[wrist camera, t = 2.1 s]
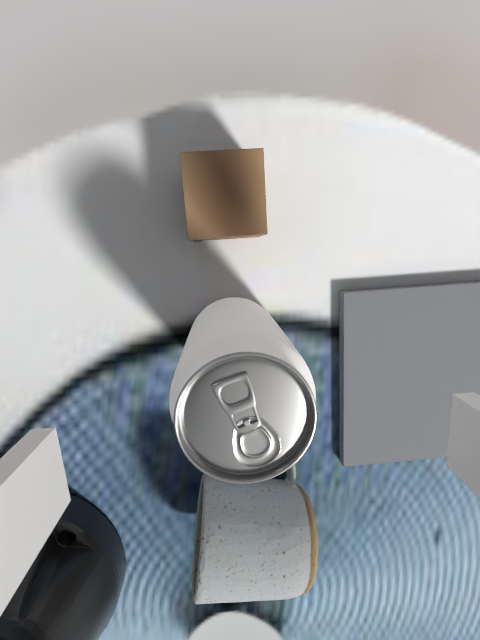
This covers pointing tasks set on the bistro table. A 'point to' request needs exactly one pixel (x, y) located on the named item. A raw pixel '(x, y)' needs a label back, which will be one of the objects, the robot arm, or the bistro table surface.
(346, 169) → the bistro table surface
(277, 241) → the bistro table surface
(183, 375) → the can
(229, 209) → the walnut block
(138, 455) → the bistro table surface
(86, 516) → the robot arm
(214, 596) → the ceramic mug
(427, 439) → the mat
